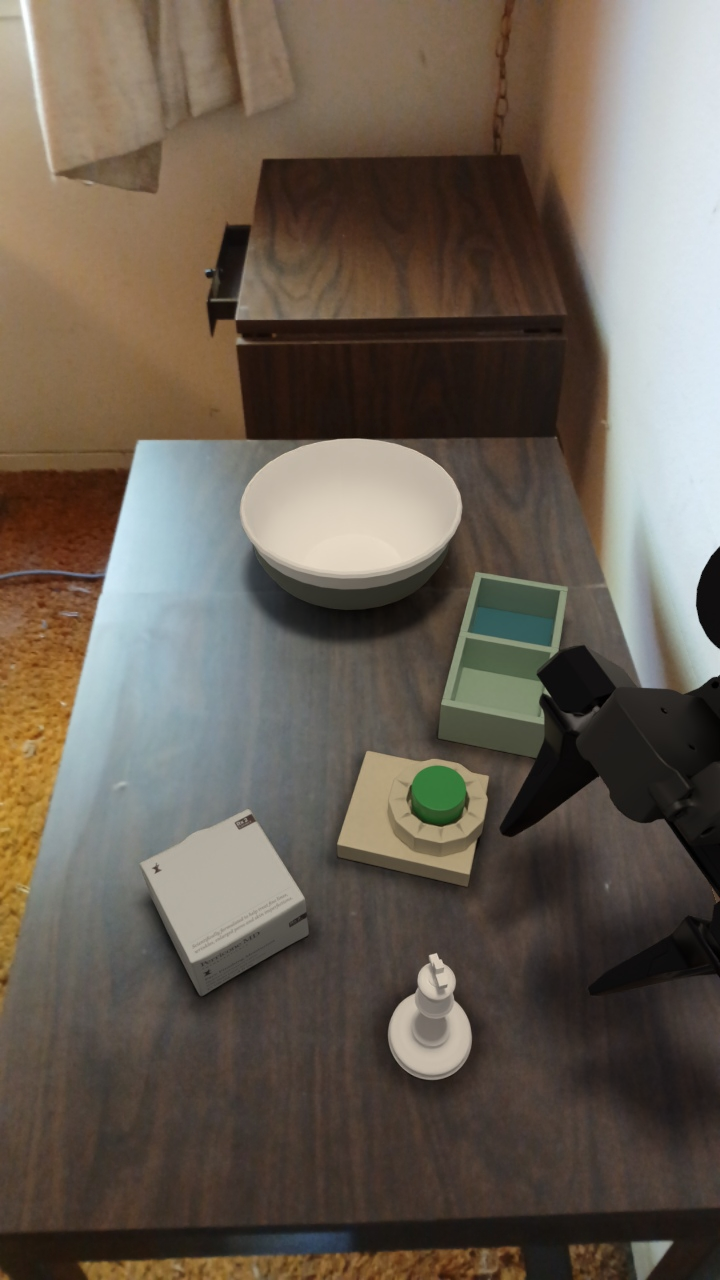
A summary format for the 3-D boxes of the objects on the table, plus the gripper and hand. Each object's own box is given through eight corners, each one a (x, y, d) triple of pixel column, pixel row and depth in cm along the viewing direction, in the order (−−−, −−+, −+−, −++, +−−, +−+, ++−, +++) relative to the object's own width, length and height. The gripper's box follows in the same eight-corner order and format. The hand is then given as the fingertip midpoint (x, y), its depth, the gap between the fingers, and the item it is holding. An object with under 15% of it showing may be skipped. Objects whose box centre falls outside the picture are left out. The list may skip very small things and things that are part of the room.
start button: (468, 785, 61) (470, 771, 59) (459, 830, 58) (461, 815, 57) (417, 775, 61) (418, 760, 60) (405, 818, 59) (406, 804, 58)
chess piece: (402, 1091, 50) (407, 1025, 43) (378, 1006, 54) (378, 932, 46) (483, 1066, 51) (502, 997, 44) (455, 984, 54) (467, 908, 47)
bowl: (254, 659, 73) (243, 586, 67) (245, 518, 86) (235, 446, 80) (476, 636, 75) (485, 563, 69) (435, 501, 88) (439, 429, 82)
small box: (200, 1001, 54) (187, 965, 50) (150, 900, 59) (135, 860, 55) (312, 936, 57) (308, 898, 53) (256, 844, 61) (248, 803, 58)
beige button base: (490, 790, 64) (495, 761, 62) (471, 888, 59) (475, 861, 56) (366, 763, 66) (366, 735, 63) (337, 857, 61) (335, 829, 58)
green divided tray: (471, 606, 77) (475, 571, 74) (560, 621, 76) (568, 586, 73) (437, 738, 67) (440, 704, 64) (539, 759, 66) (547, 725, 63)
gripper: (604, 516, 40) (375, 733, 46) (913, 862, 28) (551, 1102, 34) (704, 599, 48) (497, 777, 53) (981, 900, 36) (677, 1091, 41)
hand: (545, 908), depth 45 cm, fingers open, 9 cm apart
